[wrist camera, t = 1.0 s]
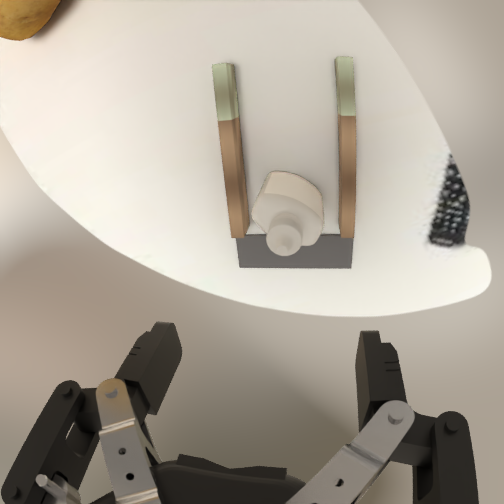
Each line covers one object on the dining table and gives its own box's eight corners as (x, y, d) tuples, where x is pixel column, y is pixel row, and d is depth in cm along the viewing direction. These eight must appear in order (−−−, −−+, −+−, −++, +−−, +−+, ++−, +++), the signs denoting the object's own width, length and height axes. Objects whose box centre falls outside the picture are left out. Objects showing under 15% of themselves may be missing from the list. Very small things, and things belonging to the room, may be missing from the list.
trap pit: (236, 234, 34) (235, 236, 34) (353, 234, 32) (353, 235, 32) (240, 266, 36) (239, 267, 36) (350, 266, 34) (351, 268, 33)
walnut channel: (221, 66, 26) (211, 64, 23) (348, 59, 24) (352, 56, 21) (238, 225, 34) (231, 238, 31) (350, 224, 31) (353, 237, 29)
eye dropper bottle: (293, 155, 29) (283, 196, 19) (327, 201, 31) (335, 266, 20) (256, 180, 31) (227, 234, 21) (291, 224, 33) (280, 296, 22)
